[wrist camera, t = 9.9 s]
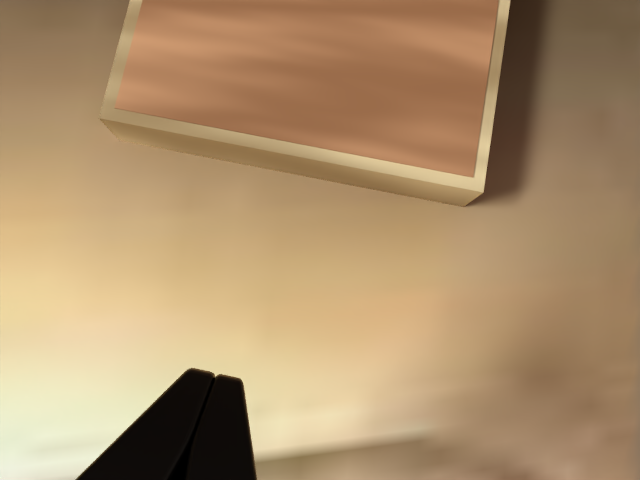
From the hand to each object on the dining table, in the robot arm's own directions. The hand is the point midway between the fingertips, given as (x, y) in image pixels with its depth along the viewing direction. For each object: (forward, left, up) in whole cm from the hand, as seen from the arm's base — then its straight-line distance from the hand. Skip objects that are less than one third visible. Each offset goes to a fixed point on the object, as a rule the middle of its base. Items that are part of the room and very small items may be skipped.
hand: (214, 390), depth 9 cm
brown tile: (+5, +4, -9) cm, 11 cm away
